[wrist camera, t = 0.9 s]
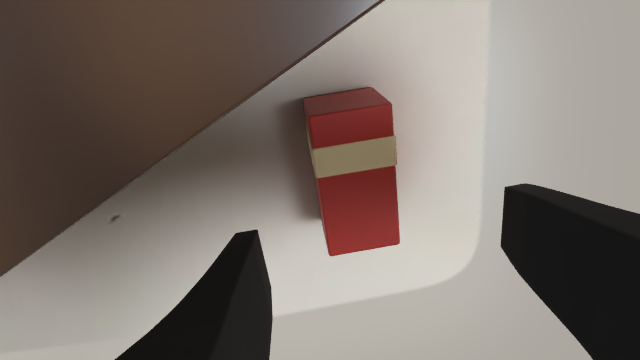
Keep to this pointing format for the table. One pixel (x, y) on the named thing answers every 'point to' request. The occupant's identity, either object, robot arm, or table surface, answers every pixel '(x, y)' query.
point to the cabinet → (128, 92)
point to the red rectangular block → (354, 169)
